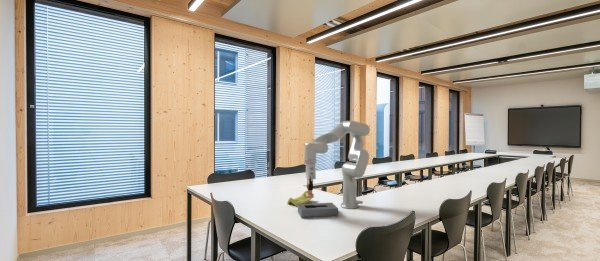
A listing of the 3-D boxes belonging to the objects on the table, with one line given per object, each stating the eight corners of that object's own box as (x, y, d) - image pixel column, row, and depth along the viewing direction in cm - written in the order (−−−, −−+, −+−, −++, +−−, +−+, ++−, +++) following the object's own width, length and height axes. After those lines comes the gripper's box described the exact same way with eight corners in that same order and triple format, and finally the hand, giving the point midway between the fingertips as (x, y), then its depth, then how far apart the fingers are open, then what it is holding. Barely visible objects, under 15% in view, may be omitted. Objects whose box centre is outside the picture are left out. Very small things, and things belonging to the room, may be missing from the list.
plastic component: (299, 204, 200) (289, 196, 206) (296, 212, 203) (286, 204, 208) (315, 196, 216) (305, 189, 221) (312, 204, 218) (302, 197, 224)
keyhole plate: (331, 209, 195) (331, 202, 195) (338, 216, 181) (338, 208, 181) (297, 211, 191) (297, 204, 191) (301, 218, 177) (301, 210, 177)
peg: (312, 196, 188) (312, 179, 188) (314, 198, 183) (314, 181, 183) (305, 196, 187) (305, 179, 187) (306, 198, 182) (307, 181, 182)
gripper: (318, 163, 177) (318, 192, 177) (313, 159, 193) (312, 186, 194) (307, 163, 176) (306, 192, 176) (302, 160, 192) (301, 187, 192)
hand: (309, 189), depth 185 cm, fingers closed on peg, 3 cm apart
